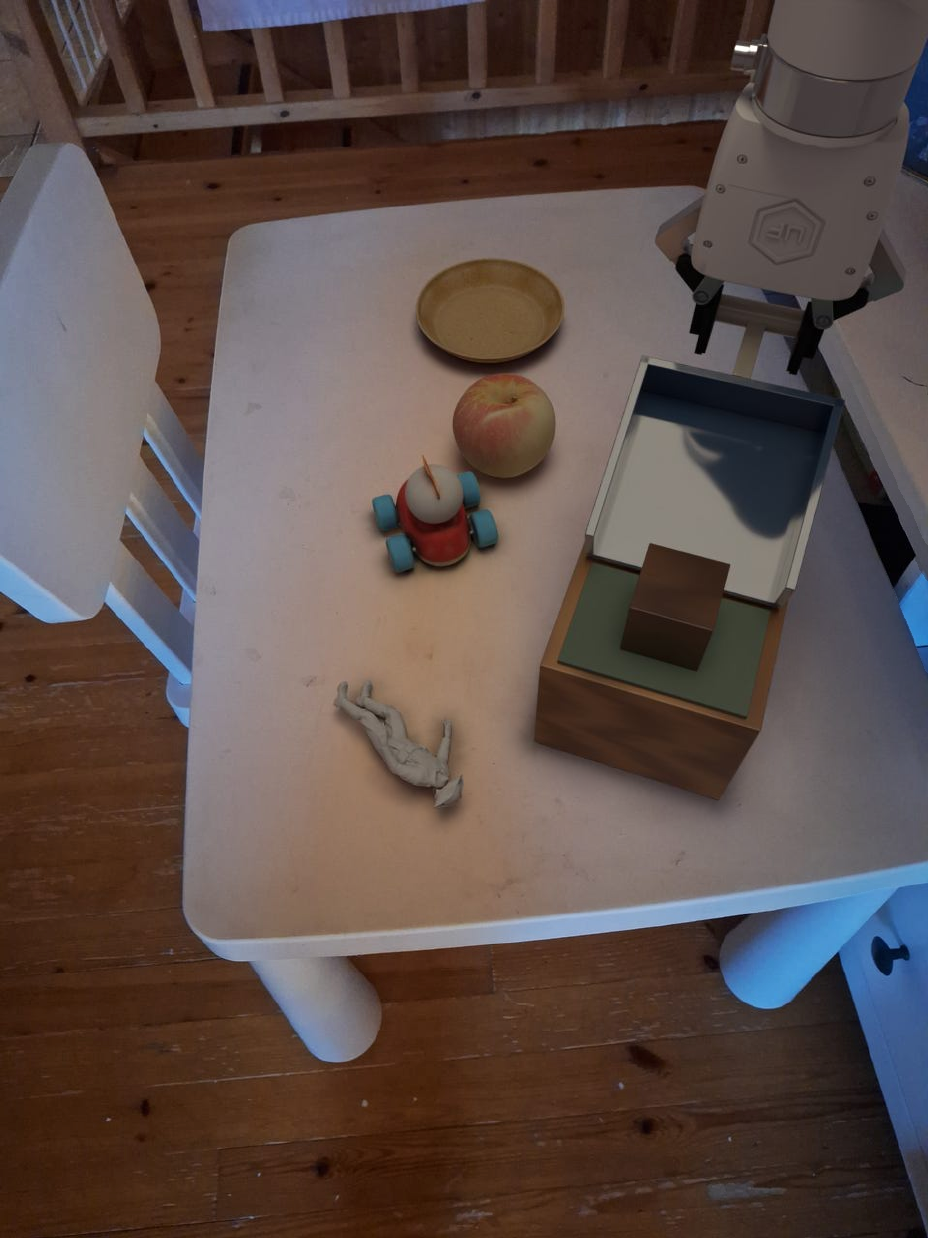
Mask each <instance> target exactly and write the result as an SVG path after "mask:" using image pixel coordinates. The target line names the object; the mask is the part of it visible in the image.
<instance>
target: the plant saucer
mask: <svg viewBox="0 0 928 1238" xmlns="http://www.w3.org/2000/svg"><path fill="white" fill-rule="evenodd" d="M559 288H560V287H558V285H557V284H556V283H555V282H554V281H553V280H552V279H551V278H550V277H549V276H548V275H547V274H545V273H544V272H543V271H541V270H539V269H537V268H536V267H534V266H531V265H529V264H526V263H524V262H521V261H516V260H513V259H512V260H511V259H507V258H498V257H497V258H495V257H490V258H488V257H487V258H486V257H485V258H476V259H470V260H465V261H461V262H458V263H456V264H453V265H451V266H448V267H446V268H444V269H442V270H441V271H439V272H438V273H436V274H435V275H434V276H432V277H431V278H430V279H429V280H428V281H427V282H426V283H425V284H424V286H423V287H422V288H421V290H420V292H419V293H418V296H417V299H416V303H415V317H416V321H417V324H418V326H419V328H420V329H421V331H422V333H423V334H424V335H425V336H426V338H428V339H429V340H430V341H431V342H432V343H433V344H435V345H436V346H438V347H439V348H440V349H441V350H443V351H444V352H447V353H448V354H450V355H452V356H454V357H457V358H459V359H462V360H465V361H470V362H475V363H480V364H481V363H482V364H497V363H505V362H508V361H512V360H516V359H519V358H521V357H524V356H526V355H528V354H530V353H532V352H534V351H536V350H537V349H538V348H540V347H542V346H543V345H544V344H546V342H548V340H550V338H552V337H553V335H554V334H555V333H556V332H557V331H558V329H559V327H560V326H561V325H562V322H563V319H564V316H565V300H564V297H563V294H562V292H561V290H560V289H559Z"/></svg>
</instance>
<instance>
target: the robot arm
mask: <svg viewBox="0 0 928 1238" xmlns="http://www.w3.org/2000/svg"><path fill="white" fill-rule="evenodd" d="M927 41H928V0H774V4H773V8H772V12H771V16H770V21H769V25H768V29H767V33H761V36H760V39H754V38H752V40H751V41H746V40H738V39H737V40H736V42H735V46H734V49H733V53H732V57H731V62H730V68H729V69H730V70H731V71H736V72H743V75H744V76H750V77H749V82H748V83H747V84H746V85H745V86H744V87H743V89H742V91H741V93H740V95H738V97H737V100H736V102H735V104H734V106H733V108H732V110H731V113H730V115H729V117H728V120H727V122H726V125H725V127H724V130H723V131H722V132H723V133H722V135H721V138H720V141H719V144H718V147H717V150H716V153H715V156H714V160H713V163H712V166H711V171H710V174H709V178H708V181H707V184H706V189H705V192H704V194H703V195H702V196H700V197H698V199H696V200H694V201H693V202H692V203H689V204H688V205H687V206H686V207H684V208H683V209H681V210H680V211H679V212H677V213H675V214H674V215H673V216H671V217H670V218H668V219H667V220H665V221H664V222H662V223H661V224H660V226H659V228H658V230H657V233H656V235H655V238H654V243H655V246H656V247H657V248H658V249H659V250H660V251H661V253H662V254H663V255H664V256H665V257H666V259H668V261H669V262H671V263H673V264H674V265H675V266H674V269H675V271H676V273H677V274H678V275H679V277H680V278H681V279H682V280H683V282H684V283H685V284H686V286H687V287H688V289H689V290H690V291H691V292H692V300H693V302H694V303H695V306H694V310H693V314H692V318H691V323H690V327H689V332H688V333H689V334H692V335H696V336H697V340H696V345H695V347H694V348H695V349H694V352H693V354H695V355H700V356H702V355H703V354H706V352H707V349H708V346H709V342H710V340H711V335H712V333H713V330H714V327H715V321H714V319H715V315H716V311H717V308H718V304H719V301H720V297H721V295H722V294H723V292H724V287H725V284H724V283H725V282H726V283H730V284H734V285H735V284H736V285H740V286H745V287H751V288H756V289H760V290H765V291H771V292H775V293H780V294H784V295H785V294H786V295H792V296H797V297H801V298H806V299H811V301H810V300H808V301H807V304H806V305H805V309H804V310H805V315H804V318H803V322H802V325H801V328H800V331H799V334H798V336H797V338H794V340H793V343H792V346H791V350H790V355H789V358H788V363H787V366H786V372H788V375H793V376H797V375H798V373H799V370H800V367H801V364H802V362H803V359H809V360H814V358H815V356H816V352H817V350H818V348H819V345H820V342H821V340H822V338H823V334H824V332H825V330H828V329H830V328H831V327H832V326H833V325H834V322H835V321H837V320H840V319H841V318H844V317H846V316H848V315H850V314H853V313H855V312H857V311H859V310H861V309H864V308H865V307H866V306H867V304H868V303H870V302H877V301H879V300H881V299H884V298H887V297H889V296H892V295H894V294H897V293H899V292H901V291H902V290H903V289H904V287H905V282H906V275H907V270H906V269H905V266H904V265H903V263H902V261H901V258H900V256H899V255H898V252H896V250H895V248H894V246H893V244H892V242H891V240H890V238H889V236H888V235H887V233H886V230H885V229H884V225H885V222H886V219H887V216H888V213H889V211H890V207H891V204H892V201H893V198H894V195H895V192H896V189H897V184H898V181H899V178H900V174H901V171H902V168H903V163H904V159H905V156H906V155H905V154H906V150H907V145H908V141H909V140H908V139H909V132H910V111H909V108H908V106H907V105H906V103H905V99H906V96H907V94H908V91H909V88H910V87H911V84H912V80H913V78H914V75H915V72H916V70H917V67H918V65H919V62H920V60H921V58H922V57H921V56H922V55H923V52H924V49H925V47H926V43H927ZM693 234H694V236H693V237H694V238H693V243H690V239H689V237H691V236H692V235H693ZM869 268H870V270H871V272H870V273H869V274H867V276H865V275H866V273H867V271H868V269H869Z"/></svg>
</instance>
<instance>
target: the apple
mask: <svg viewBox="0 0 928 1238" xmlns="http://www.w3.org/2000/svg"><path fill="white" fill-rule="evenodd" d="M453 411H454V412H453V416H452V433H453V437H454V441H455V443H456V446H457V448H458V449H459V451H460V453H461V455H462V456H463V458H464V459H465V460H466V461H467V463H468V464H469V465H470V466H472V467H473V468H474V469H475V470H477V471H479V472H481V473H482V474H484V475H488V476H492V477H496V478H503V479H504V478H514V477H517V476H520V475H522V474H524V473H526V472H529V471H530V470H532V469H533V468H535V467H536V466H537V465H539V463H540V462H542V461H543V460H544V459H545V457H546V456H547V454H548V453H549V451H550V449H551V447H552V445H553V443H554V439H555V434H556V425H557V424H556V413H555V409H554V406H553V404H552V401H551V399H550V397H549V396H548V394H547V393H546V392H545V390H543V389H542V388H541V386H539V385H537V383H535V382H534V381H532V380H531V379H528V378H526V377H524V376H523V375H519V374H516V373H510V372H509V373H505V372H504V373H503V372H501V373H495V374H491V375H487V376H484V377H482V378H480V379H478V380H477V381H475V382H474V383H473V384H471V385H470V386H469V387H468V388H467V389H466V390H465V391H464V393H463V394H462V395H461V397H460V398H459V400H458V402H457V404H456V406H455V409H454V410H453Z"/></svg>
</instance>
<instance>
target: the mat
mask: <svg viewBox="0 0 928 1238" xmlns="http://www.w3.org/2000/svg"><path fill="white" fill-rule="evenodd" d="M638 578H639V575H636V574H633V573H629V572H625V571H622V570H618V569H614V568H611V567H607V566H603V565H600V564H596V563H592V564H591V566H590V569H589V572H588V575H587V578H586V581H585V583H584V586H583V589H582V592H581V595H580V598H579V601H578V603H577V606H576V609H575V612H574V615H573V618H572V620H571V623H570V626H569V629H568V632H567V635H566V637H565V640H564V643H563V646H562V649H561V652H560V654H559V657H558V661H557V663H559V664H562V665H566V666H569V667H573V668H576V669H579V670H583V671H586V672H589V673H593V674H596V675H599V676H603V677H606V678H609V679H613V680H616V681H619V682H623V683H626V684H630V685H633V686H636V687H640V688H643V689H646V690H650V691H653V692H656V693H660V694H663V695H666V696H670V697H673V698H676V699H680V700H683V701H687V702H690V703H693V704H697V705H700V706H703V707H707V708H710V709H713V710H717V711H720V712H723V713H727V714H730V715H733V716H737V717H740V718H744V719H746V718H747V716H748V711H749V707H750V702H751V698H752V693H753V689H754V684H755V680H756V675H757V671H758V666H759V662H760V657H761V653H762V648H763V644H764V639H765V635H766V630H767V626H768V621H769V617H770V611H768V610H765V609H761V608H757V607H754V606H750V605H746V604H743V603H739V602H735V601H732V600H728V599H724V598H722V600H721V604H720V608H719V612H718V616H717V620H716V623H715V627H714V631H713V634H712V636H711V639H710V641H709V644H708V646H707V649H706V651H705V654H704V656H703V659H702V661H701V664H700V666H699V668H698V671H693V670H690V669H687V668H683V667H680V666H676V665H673V664H669V663H666V662H662V661H659V660H656V659H652V658H649V657H645V656H642V655H638V654H635V653H632V652H628V651H625V650H621V649H620V644H621V640H622V636H623V632H624V627H625V623H626V619H627V615H628V610H629V606H630V603H631V600H632V597H633V594H634V591H635V587H636V584H637V581H638Z"/></svg>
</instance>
